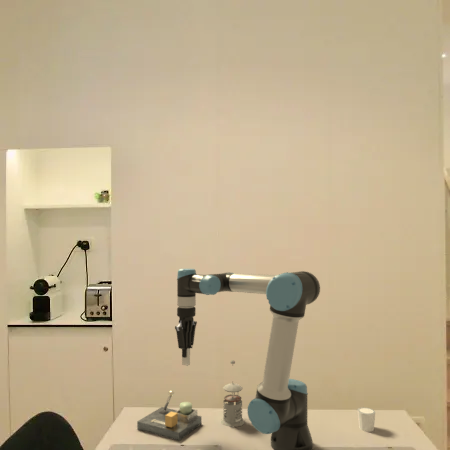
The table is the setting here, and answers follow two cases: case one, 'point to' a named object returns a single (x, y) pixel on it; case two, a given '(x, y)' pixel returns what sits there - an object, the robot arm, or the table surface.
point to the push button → (185, 408)
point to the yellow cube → (171, 419)
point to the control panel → (157, 426)
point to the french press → (232, 406)
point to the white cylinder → (366, 419)
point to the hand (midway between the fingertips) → (185, 364)
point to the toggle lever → (168, 399)
